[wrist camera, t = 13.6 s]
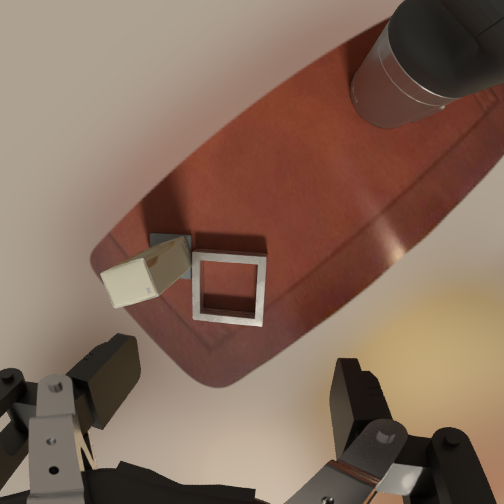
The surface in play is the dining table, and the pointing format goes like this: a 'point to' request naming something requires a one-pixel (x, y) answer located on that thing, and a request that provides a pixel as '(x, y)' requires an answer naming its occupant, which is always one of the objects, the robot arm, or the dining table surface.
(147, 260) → the skincare box
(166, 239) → the pad
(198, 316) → the grey square frame
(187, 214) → the dining table surface
